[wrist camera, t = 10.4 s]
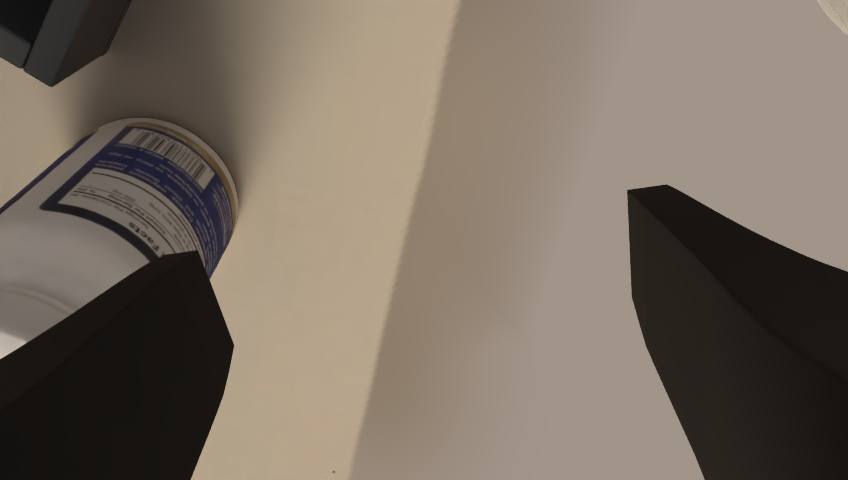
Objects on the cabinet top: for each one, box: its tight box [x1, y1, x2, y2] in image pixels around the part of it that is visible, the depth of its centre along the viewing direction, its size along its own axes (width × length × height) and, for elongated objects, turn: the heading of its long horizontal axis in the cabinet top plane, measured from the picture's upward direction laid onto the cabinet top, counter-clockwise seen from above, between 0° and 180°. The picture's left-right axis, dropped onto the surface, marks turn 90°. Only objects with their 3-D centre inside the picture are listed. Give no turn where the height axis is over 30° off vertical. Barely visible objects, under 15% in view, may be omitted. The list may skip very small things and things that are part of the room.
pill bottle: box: [0, 118, 238, 359], centre depth 19 cm, size 5×5×10 cm
